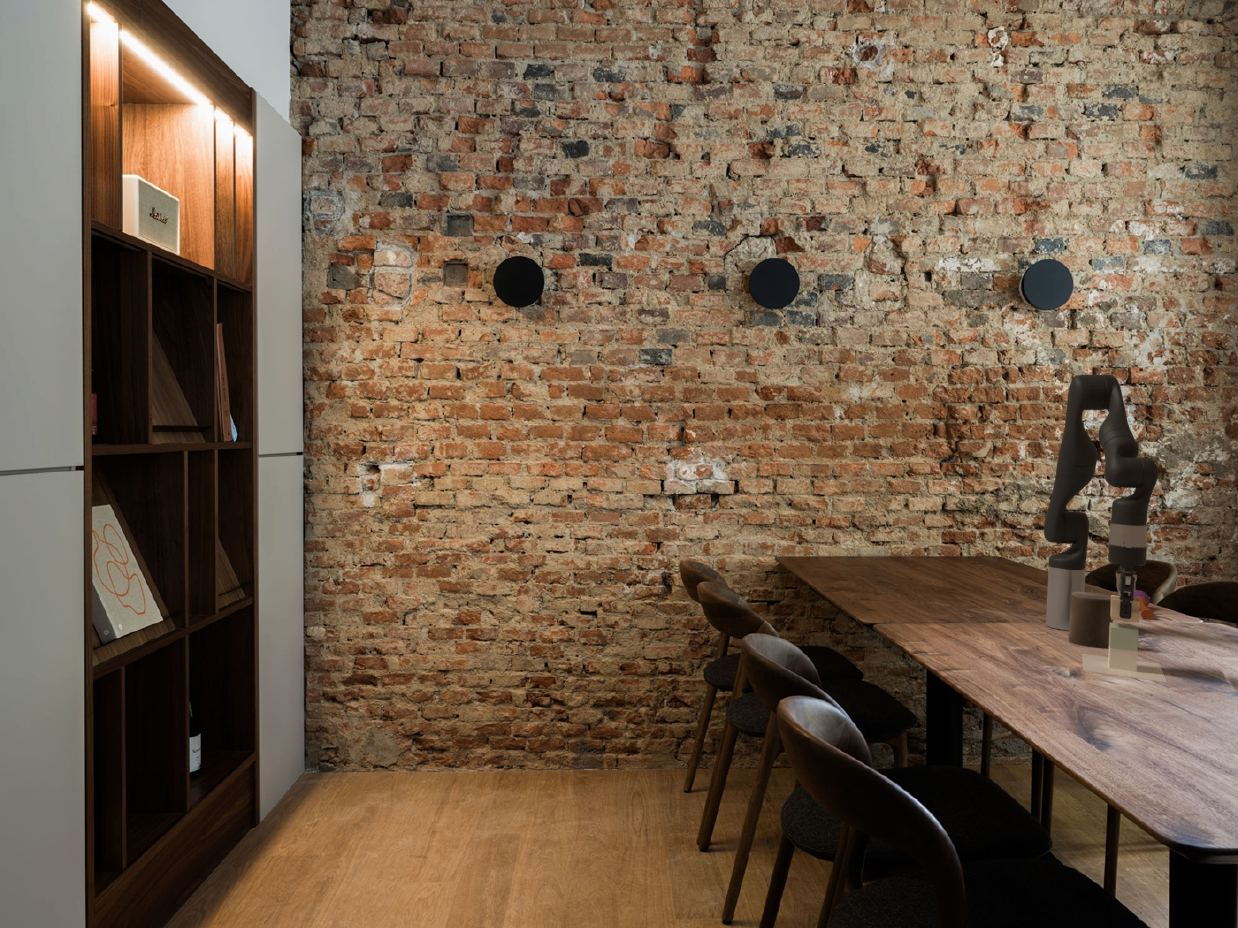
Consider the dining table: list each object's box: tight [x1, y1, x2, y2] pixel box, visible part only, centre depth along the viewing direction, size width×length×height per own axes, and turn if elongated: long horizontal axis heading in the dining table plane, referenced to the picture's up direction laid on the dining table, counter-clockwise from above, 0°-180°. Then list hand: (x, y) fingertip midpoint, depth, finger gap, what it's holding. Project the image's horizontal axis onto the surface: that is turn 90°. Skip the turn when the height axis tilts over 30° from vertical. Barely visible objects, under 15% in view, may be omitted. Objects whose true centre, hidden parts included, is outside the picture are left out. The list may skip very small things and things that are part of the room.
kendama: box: [1133, 589, 1155, 621], centre depth 252 cm, size 6×6×20 cm
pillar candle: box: [1068, 590, 1114, 649], centre depth 210 cm, size 10×10×15 cm
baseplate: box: [1081, 653, 1168, 683], centre depth 190 cm, size 16×16×1 cm
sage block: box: [1109, 622, 1140, 651], centre depth 189 cm, size 5×5×5 cm
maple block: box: [1110, 594, 1140, 624], centre depth 189 cm, size 5×5×5 cm
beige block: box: [1107, 646, 1139, 672], centre depth 189 cm, size 5×5×5 cm
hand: (1124, 615), depth 189 cm, fingers closed on maple block, 5 cm apart
